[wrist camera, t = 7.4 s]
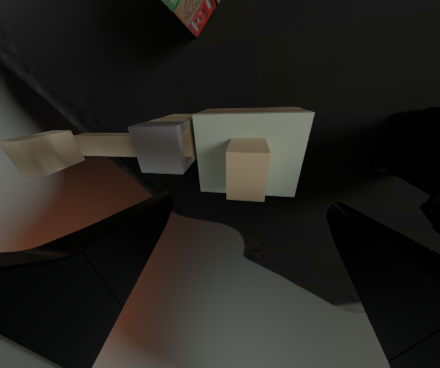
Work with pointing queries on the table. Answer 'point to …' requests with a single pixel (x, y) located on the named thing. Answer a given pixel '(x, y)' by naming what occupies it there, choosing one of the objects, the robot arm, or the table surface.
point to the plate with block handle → (251, 152)
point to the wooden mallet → (63, 150)
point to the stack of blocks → (192, 12)
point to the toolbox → (176, 140)
